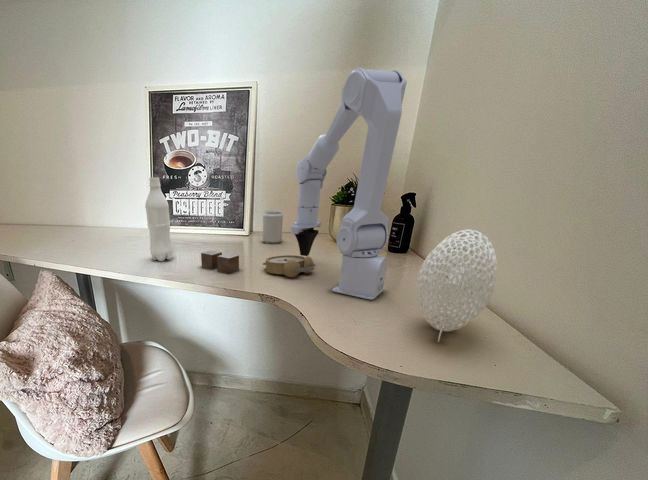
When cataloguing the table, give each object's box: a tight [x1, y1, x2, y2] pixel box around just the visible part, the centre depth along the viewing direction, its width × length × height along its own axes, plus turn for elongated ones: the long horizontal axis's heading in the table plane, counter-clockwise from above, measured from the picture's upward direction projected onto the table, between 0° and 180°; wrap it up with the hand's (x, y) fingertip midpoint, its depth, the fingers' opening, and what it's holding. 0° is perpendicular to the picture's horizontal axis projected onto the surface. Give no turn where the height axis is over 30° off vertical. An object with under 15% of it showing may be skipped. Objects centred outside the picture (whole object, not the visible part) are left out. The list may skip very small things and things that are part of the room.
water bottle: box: [144, 176, 174, 262], centre depth 105 cm, size 7×7×25 cm
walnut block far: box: [200, 250, 223, 271], centre depth 99 cm, size 4×4×4 cm
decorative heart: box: [415, 228, 498, 343], centre depth 56 cm, size 18×11×17 cm, turn 141°
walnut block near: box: [217, 252, 240, 274], centre depth 96 cm, size 4×4×4 cm
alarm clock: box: [262, 254, 316, 278], centre depth 93 cm, size 11×5×15 cm
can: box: [262, 209, 284, 244], centre depth 130 cm, size 8×8×12 cm
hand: (304, 255), depth 98 cm, fingers closed
